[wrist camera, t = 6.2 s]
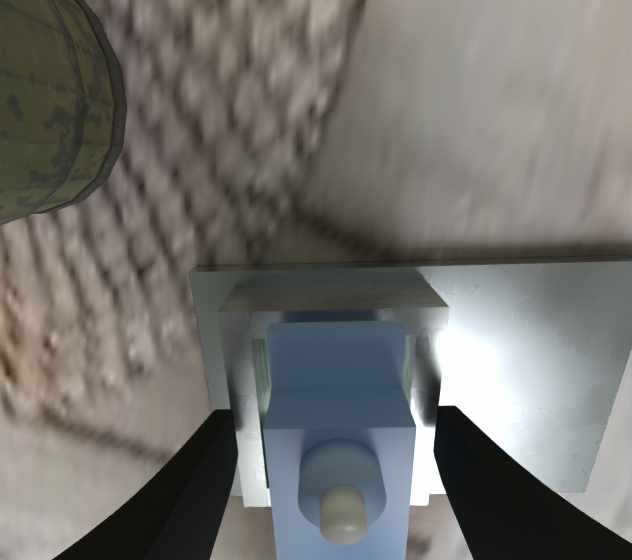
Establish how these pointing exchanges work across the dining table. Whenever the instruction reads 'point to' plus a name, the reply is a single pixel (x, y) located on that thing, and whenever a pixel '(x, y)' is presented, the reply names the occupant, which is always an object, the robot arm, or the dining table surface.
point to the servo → (339, 440)
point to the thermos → (55, 106)
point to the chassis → (439, 350)
